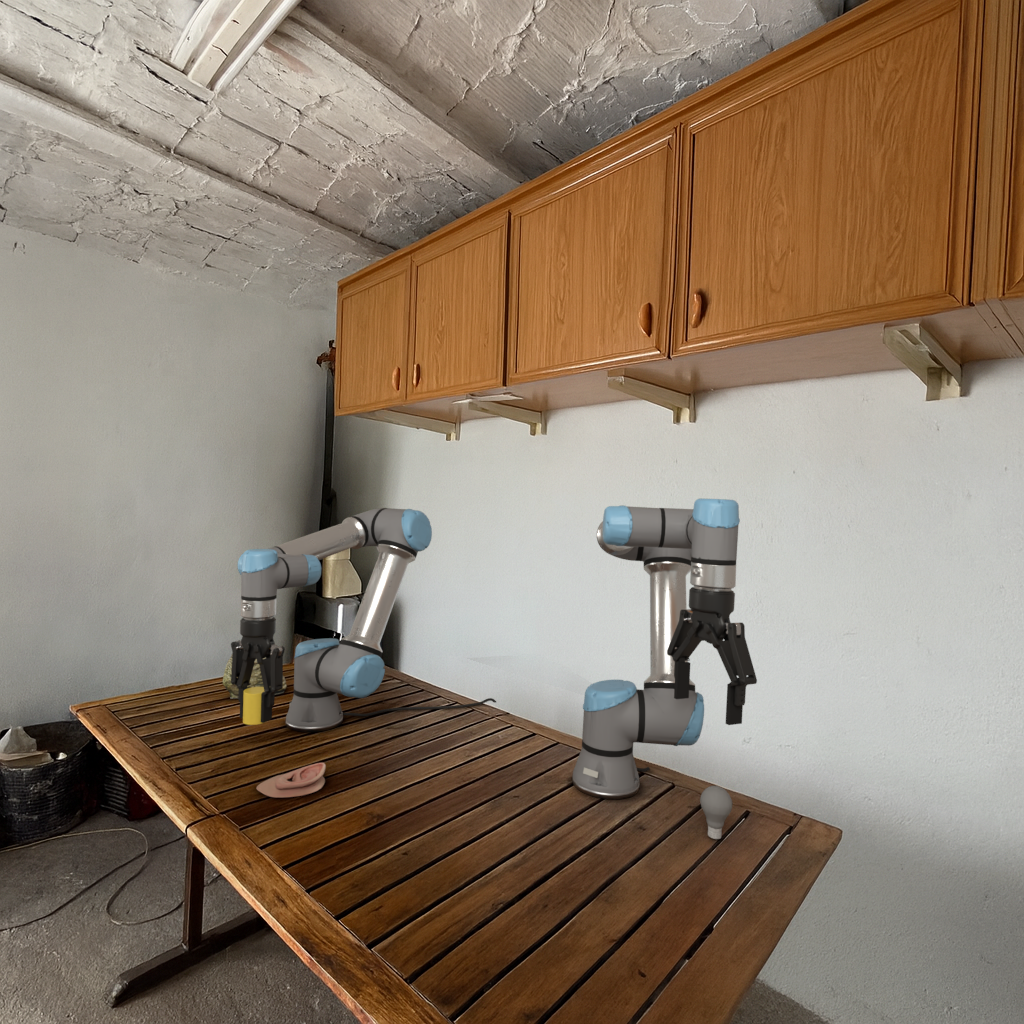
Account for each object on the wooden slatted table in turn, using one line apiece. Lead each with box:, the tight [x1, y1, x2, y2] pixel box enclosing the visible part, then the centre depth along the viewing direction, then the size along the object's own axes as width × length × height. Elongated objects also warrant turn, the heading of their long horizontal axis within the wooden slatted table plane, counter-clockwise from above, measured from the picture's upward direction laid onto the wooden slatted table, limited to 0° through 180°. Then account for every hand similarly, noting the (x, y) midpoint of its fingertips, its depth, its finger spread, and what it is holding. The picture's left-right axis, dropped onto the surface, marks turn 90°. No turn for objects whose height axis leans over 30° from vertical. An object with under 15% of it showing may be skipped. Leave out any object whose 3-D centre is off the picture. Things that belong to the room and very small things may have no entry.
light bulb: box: [699, 785, 734, 840], centre depth 124 cm, size 6×6×10 cm
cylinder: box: [242, 687, 268, 726], centre depth 144 cm, size 5×5×7 cm
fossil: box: [222, 654, 288, 699], centre depth 198 cm, size 9×18×15 cm, turn 132°
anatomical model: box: [256, 762, 327, 799], centre depth 137 cm, size 13×4×12 cm
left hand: (255, 718), depth 145 cm, fingers closed on cylinder, 5 cm apart
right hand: (706, 710), depth 110 cm, fingers open, 13 cm apart
